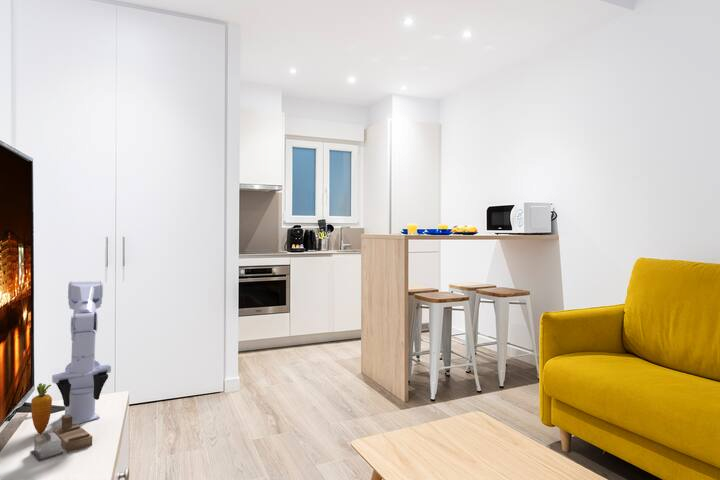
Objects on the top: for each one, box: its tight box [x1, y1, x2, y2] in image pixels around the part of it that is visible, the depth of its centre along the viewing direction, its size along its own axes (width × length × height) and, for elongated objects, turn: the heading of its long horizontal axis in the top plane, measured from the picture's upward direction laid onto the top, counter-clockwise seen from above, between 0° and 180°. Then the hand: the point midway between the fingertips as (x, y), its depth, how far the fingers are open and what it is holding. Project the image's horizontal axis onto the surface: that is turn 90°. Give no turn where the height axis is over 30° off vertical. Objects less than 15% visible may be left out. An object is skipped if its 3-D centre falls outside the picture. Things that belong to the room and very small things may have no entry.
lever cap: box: [33, 432, 62, 459], centre depth 119 cm, size 6×4×4 cm
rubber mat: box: [30, 449, 64, 462], centre depth 119 cm, size 7×6×1 cm
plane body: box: [52, 414, 93, 453], centre depth 126 cm, size 12×6×6 cm, turn 51°
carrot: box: [30, 382, 53, 436], centre depth 130 cm, size 5×5×15 cm
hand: (81, 402), depth 128 cm, fingers open, 7 cm apart
